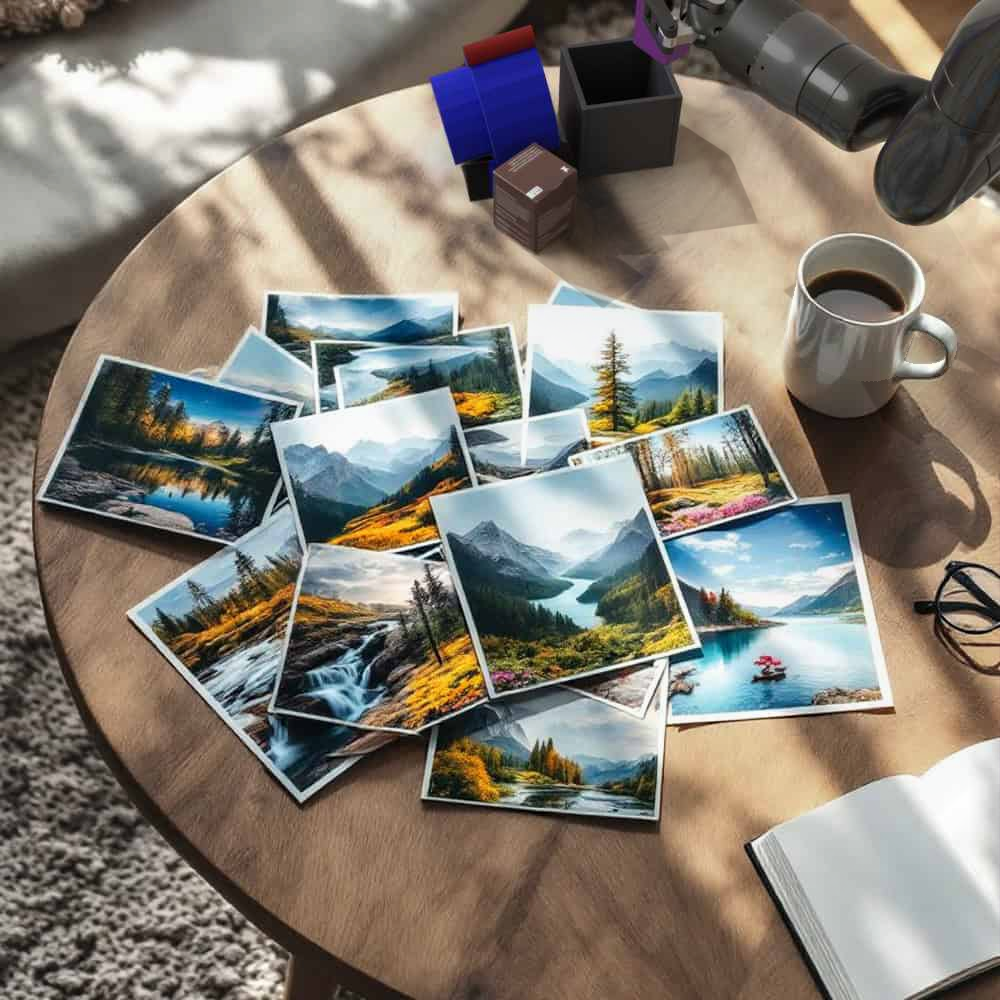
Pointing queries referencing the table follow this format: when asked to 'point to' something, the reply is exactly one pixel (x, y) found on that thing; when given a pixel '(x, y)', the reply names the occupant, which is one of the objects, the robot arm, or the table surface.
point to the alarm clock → (495, 106)
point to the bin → (617, 107)
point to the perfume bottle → (648, 43)
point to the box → (534, 197)
